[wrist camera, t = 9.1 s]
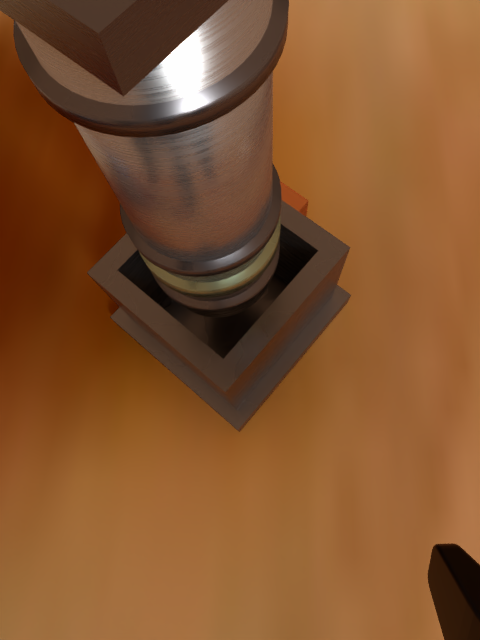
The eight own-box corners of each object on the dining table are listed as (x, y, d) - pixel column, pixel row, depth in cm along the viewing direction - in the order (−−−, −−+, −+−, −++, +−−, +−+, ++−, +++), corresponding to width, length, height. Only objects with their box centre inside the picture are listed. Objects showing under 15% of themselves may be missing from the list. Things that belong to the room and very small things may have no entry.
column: (303, 258, 17) (374, -202, 5) (224, 348, 16) (98, 39, 4) (213, 193, 18) (107, -306, 6) (134, 274, 17) (-154, -130, 6)
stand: (352, 296, 22) (380, 237, 16) (239, 431, 21) (227, 418, 15) (228, 206, 24) (215, 125, 18) (116, 323, 22) (64, 275, 17)
